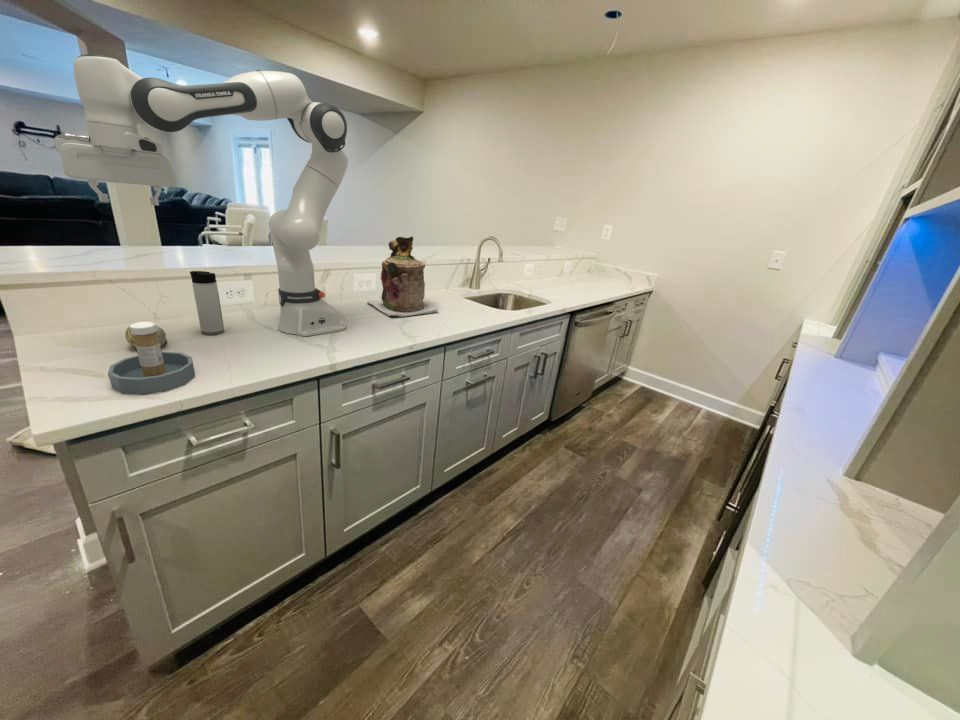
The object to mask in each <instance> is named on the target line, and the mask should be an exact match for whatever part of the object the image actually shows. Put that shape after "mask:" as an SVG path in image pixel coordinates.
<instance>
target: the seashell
mask: <svg viewBox="0 0 960 720" xmlns="http://www.w3.org/2000/svg"><path fill="white" fill-rule="evenodd" d="M156 329H157V333H156V334H157V337H158V341H159V344H160V348H161V347H163V345H164V344H165V343H166V342H167V341H168V340H167V334H166V331H165V330H164V329H163V328H162V327H160V326H158V325H156ZM124 336H125V340H126V341H127V343H128V344H129V345H131V346H132V347H134V348H136V345H135V341H134V337H133V335H132V333H131V329H130V325H129V326H128V327H127V328H126V329H125V334H124Z"/></svg>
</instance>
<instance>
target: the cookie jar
mask: <svg viewBox="0 0 960 720" xmlns="http://www.w3.org/2000/svg"><path fill="white" fill-rule="evenodd" d="M413 241H414V236H412V235H411V236H408V237H406V236H405V237H404V236H397V237H396V238H395V239H394V240H391V241H389V242H388V250H391V251H392V252H391V253H390V256H389V257H387V258H386V259H385V260H383V261H382V263H381V266H382V267H381V272H380V281H381V286H382V292H381V299H380V300H366V302H367V303H368V304H369V305H372V306H373V307H374V309H376V310H378V311H380V312H382V313H383V314H384V315H386V316H388V317H390V316H394V317H395V316H396V317H399V318H404V317H410V316H411V317H412V316H416V315H424V314H434V313H435V314H437V313H438V310H439V308H438V307H435V306H433V305H430V304H428V303H425V302H424V299H425V290H426V288H425V285H426V283H425V277H424V276H425V275H424V274H425V272H424V270H425V268H426V262H423V261H421V260H418V259H416V258H415V256H413V255H411V254H412V251H413V249H414V247H413V244H414V243H413Z"/></svg>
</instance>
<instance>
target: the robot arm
mask: <svg viewBox="0 0 960 720" xmlns="http://www.w3.org/2000/svg"><path fill="white" fill-rule="evenodd" d="M73 75H74V80H75V85H76V89H77V94H78V98H79V100H80V102H81V103H82V106H83V108H84V113H85V114H84V115H85V116H84V121H85V125H86V128H87V132H88V135H82V134H72V133H67V132H63V133H62V132H61V134H58V135H56V136H54V138H53V139H54V140H53V141H54V145H55V148H56V150H57V152H58V153H59V154H60V155H61V156H60V158H61V166H62V170H63V173H64V174H65V176H67V177H68V178H69V179H72V180H73V179H75V180H83V181H84V180H85V181H87V182H88V185H89V187H90V188H91V189H92V190H93V191H94V193H96V194H97V197H98V199H99V200H98V201H99V202H101V203H109V202H110V199H109V198H108V197H109V195H108V194H107V193H103V192H102V191H101V190H100V189H99V188H98V186H99V182H104V183H105V182H107V183H117V184H118V183H120V184H128V185H129V184H132V185H140V186H141V185H142V186H152V187H153V190H154V191H155V192H156V193H155V194H154V196H150V197H149V200H150V205H151V206H158V207H159V206H160V203H159V197H160V195H161V192H162V187H165V188H175V187H176V186H178V181H177V177H176V174H175V169H174V167H173V165H172V163H171V162H172V161H170V159H169V158H168V157H167V156H166V155H164V154H165V153H166V149H165V147H164V145H162V144H161V143H159V142H157V141H154V140H152V139H150V138H148V137H144V136H141V135H140V134H139V130H138V129H139V128H138V125H140V126H145V127H147V128H149V129H152V130H153V131H158V132H167V133H175V132H176V133H177V132H179V131H182V130H183V129H185V128H186V127H188V126H189V125H190V124H191V123H193V122H194V121H196V120H199V119H205V118H212V117H219V116H229V115H234V116H240V117H242V118H244V119H246V120H248V121H265V122H266V121H274V120H280V119H287V120H288V122H289V124H290V126H291V129H292V130H293V132H294V133H295V135H296V136H297V137H298V138H299V139H301V140H302V141H304V142H307V143H309V144H311V153H310V157H309V159H308V161H307V162H306V164H305V166H304V168H303V170H302V171H301V173H300V175H299V176H298V178H297V181H296V183H295V184H294V186H293V189H292V195H291V197H290V201H289V205H288V207H287V208H286V209H282V210H278V211H276V212H274V213H273V214H272V215H271V216H270V218H269V220H268V228H269V232H270V237H271V243H272V247H273V252H274V253H273V254H274V257H275V261H276V264H277V265H276V267H277V274H278V275H277V276H278V284H279V285H278V286H279V287H278V292H277V294H278V296H277V297H278V303H279V305H280V315H279V322H278V327H277V329H278V330H279V331H280V332H283V333H286V334H290V335H298V336H301V337H310V336H317V335H321V334H322V335H324V334H328V333H334V332H341V331H345V330H346V329H347V325H346V322H345V321H344V319H341V318H340V316H339V312H338V311H337V308H335V307H334V306H333V305H332V304H330V303H328V302H327V301H326V300H324V299H325V297H326V294H325V292H323V291H321V290H320V289H318V288H316V282H315V266H314V264H313V261H312V257H311V254H310V250H312V249H314V248H315V247H316V246H317V245H318V244H319V241H320V231H321V230H322V227H323V221H324V220H325V217H326V214H327V210H328V208H329V206H330V204H331V203H332V200H333V199H334V197H335V195H336V193H337V192H338V190H339V188H340V185H341V183H342V182H343V180H344V177H345V175H346V171H347V170H348V169H347V168H348V166H349V159H348V156H347V154H346V153H345V152H346V151H344V148H345V146H346V138H347V133H348V123H347V119H346V117H345V115H344V114H343V112H342V111H341V110H340V109H339V108H337V107H336V106H334V105H332V104H330V103H328V102H318V101H317V102H316V101H312V100H311V99H310V97H309V96H308V93H307V91H306V90H307V89H306V88H305V86H304V83H303V82H302V80H301V79H300V78H299V77H298V76H297V75H295V74H294V73H291V72H285V71H280V70H279V71H278V70H255V71H248V72H243V73H238V74H236V75H234V76H231V77H230V78H229V79H227V80H225V81H222V82H218V83H209V84H207V83H206V84H195V85H180V84H176V83H174V82H170V81H167V80H165V79H161V78H157V77H145V78H144V77H142V76H140V75H138V74H137V73H135V72H134V71H132V70H131V69H129V68H127V66H126V65H123V64H122V62H120V60H118V59H116V58H114V57H112V56H108V55H105V54H103V55H102V54H91V53H90V54H89V53H87V54H81V55H79V56H77V57H76V58H75V59H74V61H73Z"/></svg>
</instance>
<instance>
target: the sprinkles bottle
mask: <svg viewBox="0 0 960 720" xmlns="http://www.w3.org/2000/svg"><path fill="white" fill-rule="evenodd" d="M129 326H130V329H131V333H132V335H133V337H134V341H135V345H136V347H135V349H136V351H137V355H138V357H139V361H140V365H141V367H142V371H143V377H151V376H159V375H163V374H166V370H165V366H164V361H163V356H162V352H163V351H162V348H161V347H160V344H159V341H158V337H157V334H156V333H157V329H156V326H157V325H156V323H154V321H153V322H152V321H139V322H135V323H134V322H133V323H132V324H130V325H129Z"/></svg>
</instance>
